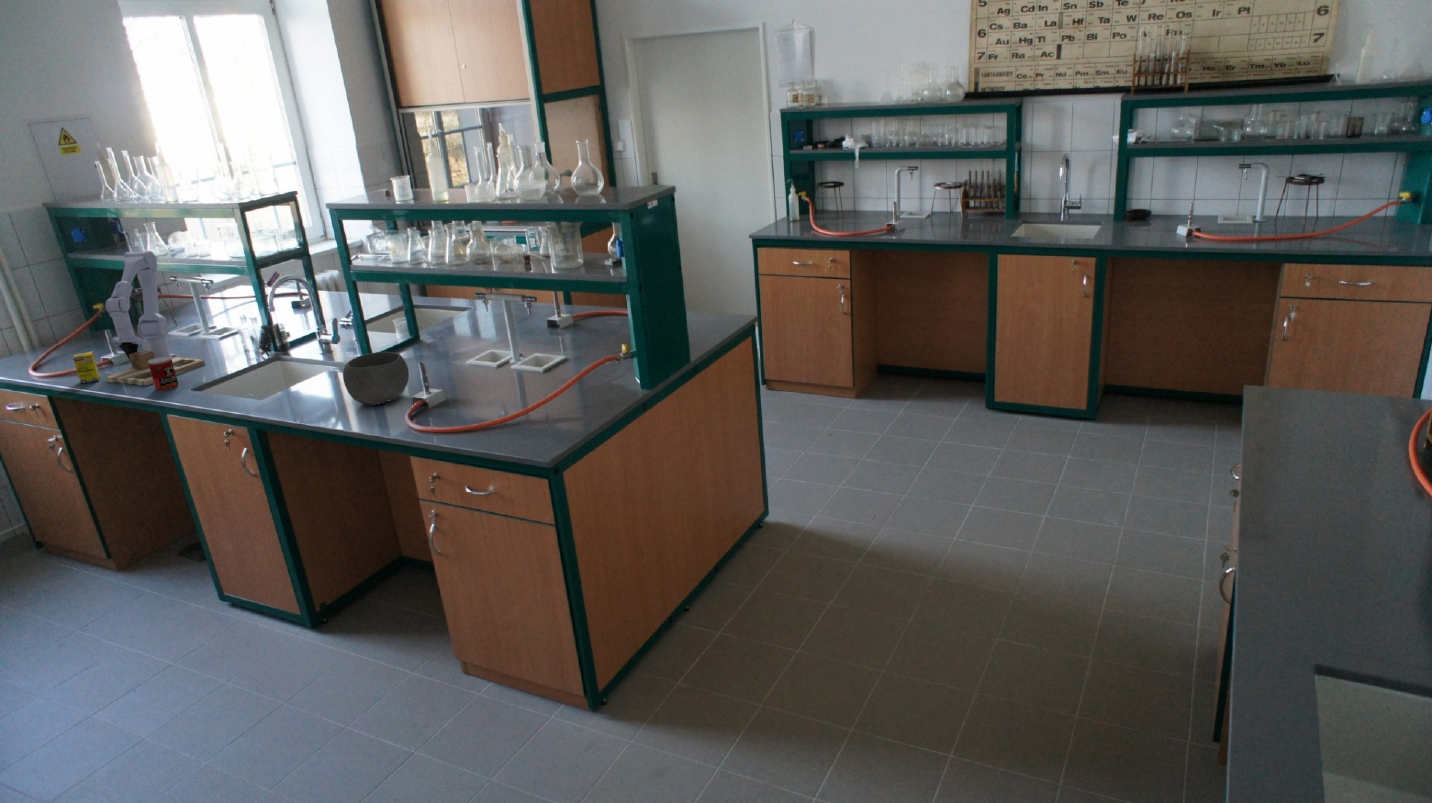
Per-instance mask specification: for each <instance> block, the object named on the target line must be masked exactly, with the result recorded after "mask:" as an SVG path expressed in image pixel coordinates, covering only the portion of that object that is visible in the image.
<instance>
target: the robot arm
mask: <svg viewBox="0 0 1432 803" xmlns="http://www.w3.org/2000/svg"><path fill="white" fill-rule="evenodd" d="M122 261H123V264H124V269H123V272H122V276H121V279H120V281H118V282H116V284H115V286H114V289H113V291H112V293H111V296H110V297H109V298H108V299H106V301H105V303H104V305H105V307H104V308H105V310H106V312H107V313H108V314H109V317H110V318H112V321H113V325H114V329H115V331H116V335H117V336H114V337H112V342H113V343H114V344H119V345H118V347H119V349H121V350H122V351H123V352H124V354H125V355H126V357H127V358H128V361H130V362H131V360H130V357H129V354H132V353H135V352H138V347H139V346H140V345H141V346H142V350H148V351H153V352H154V356H155V358H157V357H164V356H168V357H176V353H171V350H170V347H169V343H168V340H167V336H168V333H169V330H170V329H169V325H168V322H167V318H166V317H165V316H164V315H162V314H160V311H159V310H160V309H159V297H158V296H159V295H158V285H157V284H158V282H157V272H158V264H157V256H156V254H154V252H152V251H151V250H145V251H126V252H125V253H124V255H123V260H122ZM137 273H138V274H139V275H140V277H141V289H142V302H143V303H142V304H143V314H142V315H141V316H140V317H139V318H138V325H137V332H138V334H139V336H141V337H142V338H139V337H138V336H136V335H135V330H134V327H133V323H132V321H131V317H130V314H129V311H130V309H131V308H130V307H131V302H130V300H131V299H130V297H131V295H132V292H133V289H134V287H133V286H132V283H133V281H134V279H135V277H136V275H137Z"/></svg>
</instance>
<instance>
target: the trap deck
mask: <svg viewBox="0 0 1432 803" xmlns="http://www.w3.org/2000/svg"><path fill="white" fill-rule="evenodd" d="M171 359H172V362H173V366H174V369H175V373H176V376H178V375H180V373H181V374H183V373H185V372H189V371H191V370H194V369H197V368H200V367H203V366H205V365H206V363H205V360H204V359H198V358H189V357H188V358H187V357H179V356H177V357H176V356H172V357H171ZM177 374H178V375H177ZM105 378H106V382H107V383H114V382H122V383H121V384H123V383H129V384H128V385H132V384H137V385H136V386H141V385H148V386H151V385H154V384H153V383H154V381H153V378H152V374H151V371H150V368H148V369H145V370H138V369H133V367H130V368H128V369H125V370H122V371H119V372H116V373H113V374H110V375H108V376H105ZM130 383H131V384H130ZM150 384H151V385H150Z"/></svg>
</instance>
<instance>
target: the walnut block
mask: <svg viewBox="0 0 1432 803" xmlns="http://www.w3.org/2000/svg"><path fill="white" fill-rule="evenodd" d="M129 357H130V360H131V361H130V360H129V361H130V364H131V368H133V369H138V370H145V369H148V368H149V364H148V361H149V360H151V359H154V358H155V356H154V352H153V351H148V350H143V349H142V350H137V352H135V353H132V354H129Z"/></svg>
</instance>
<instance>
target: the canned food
mask: <svg viewBox="0 0 1432 803" xmlns="http://www.w3.org/2000/svg"><path fill="white" fill-rule="evenodd" d="M148 364H149V368H150V371H151V374H152V378H153V381H154V384H153V385H154V388H155V389H156V390H157V391H160V390H162V391H166V390H165V389H169V390H171V389H170V388H173V389H176V388H177V387H178V386H179V381H178V379H177V375H176V373H175V369H174V366H173V362H172V359H171V357H168V356H164V357H157V358H154V359H151V360H149V361H148Z"/></svg>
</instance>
